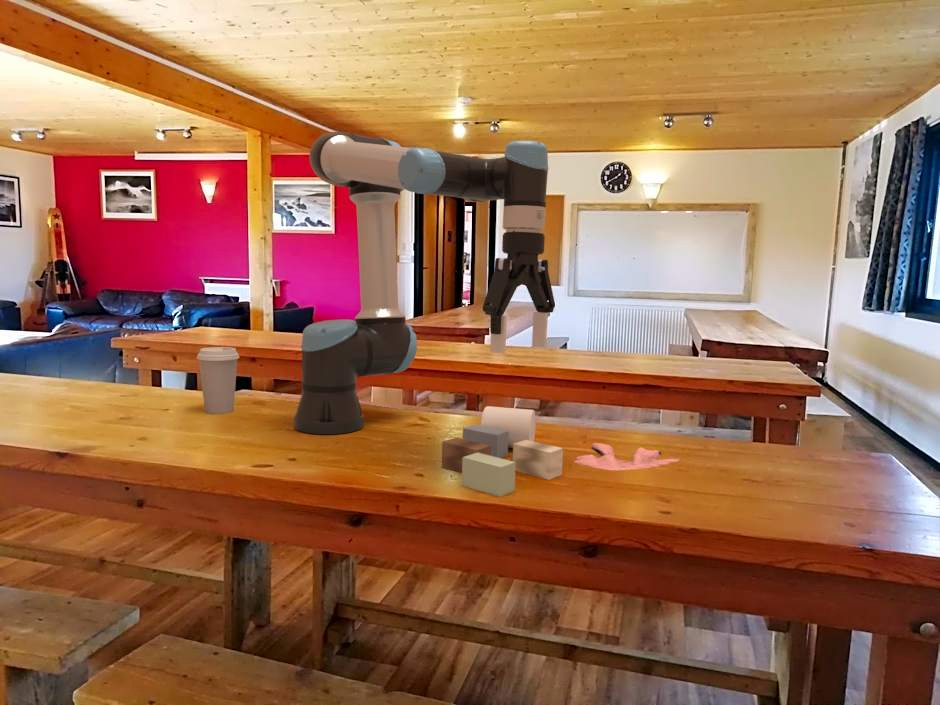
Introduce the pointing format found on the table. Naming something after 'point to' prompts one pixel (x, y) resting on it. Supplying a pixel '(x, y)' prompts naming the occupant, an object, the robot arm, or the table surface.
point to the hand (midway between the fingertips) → (519, 349)
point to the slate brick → (488, 438)
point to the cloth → (609, 461)
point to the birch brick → (538, 459)
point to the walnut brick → (460, 452)
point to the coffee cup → (218, 378)
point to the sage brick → (488, 474)
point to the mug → (511, 422)
